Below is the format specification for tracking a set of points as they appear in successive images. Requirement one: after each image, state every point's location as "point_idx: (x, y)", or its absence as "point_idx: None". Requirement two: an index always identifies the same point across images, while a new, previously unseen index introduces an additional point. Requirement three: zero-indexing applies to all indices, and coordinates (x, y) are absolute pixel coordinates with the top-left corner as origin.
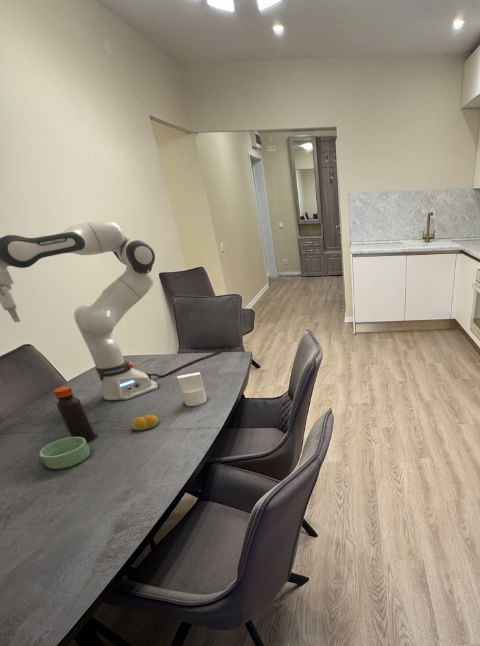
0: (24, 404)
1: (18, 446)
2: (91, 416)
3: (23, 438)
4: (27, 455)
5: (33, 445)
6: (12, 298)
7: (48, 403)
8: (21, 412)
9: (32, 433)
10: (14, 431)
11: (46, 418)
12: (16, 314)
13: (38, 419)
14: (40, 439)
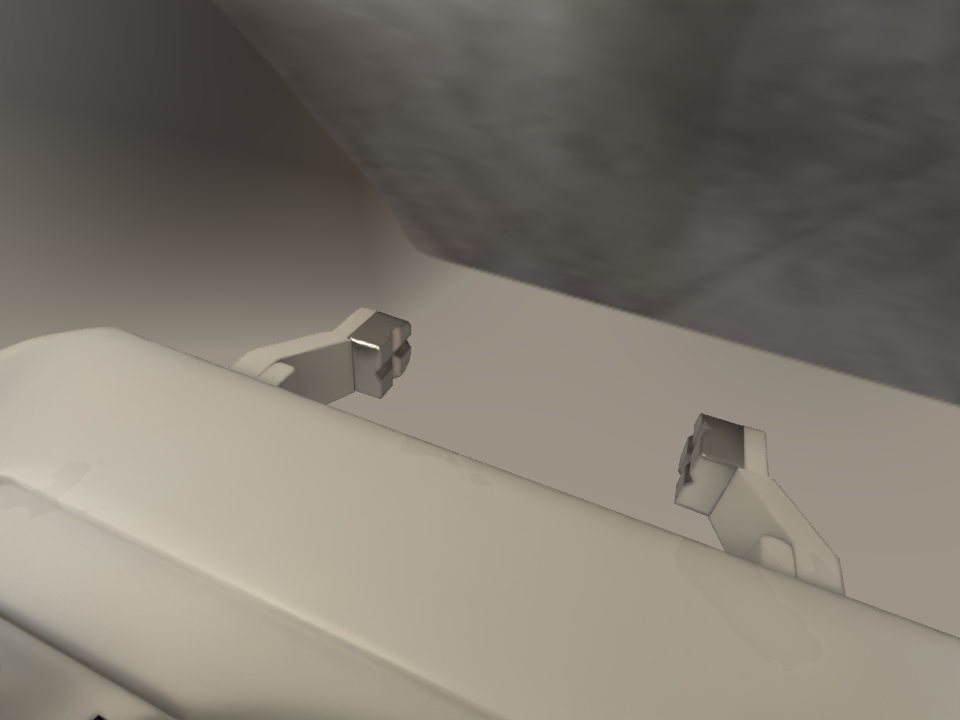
0: (379, 192)
1: (813, 337)
2: (856, 18)
3: (754, 304)
4: (945, 348)
5: (874, 307)
6: (23, 389)
7: (447, 120)
8: (463, 226)
9: (741, 271)
10: (645, 300)
11: (630, 185)
12: (799, 520)
13: (608, 209)
14: (845, 273)
